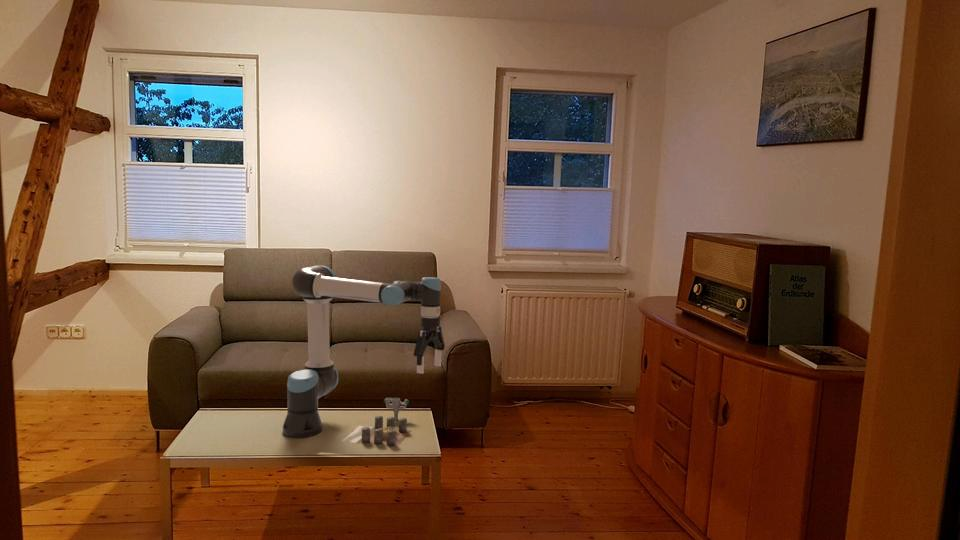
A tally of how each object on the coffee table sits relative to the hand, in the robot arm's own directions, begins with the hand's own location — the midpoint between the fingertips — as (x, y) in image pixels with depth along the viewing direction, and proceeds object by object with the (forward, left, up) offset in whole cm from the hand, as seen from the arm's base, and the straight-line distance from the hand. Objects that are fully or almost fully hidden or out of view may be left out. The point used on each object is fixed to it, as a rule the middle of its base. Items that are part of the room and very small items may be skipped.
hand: (429, 369), depth 242 cm
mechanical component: (-16, +9, -26) cm, 32 cm away
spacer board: (-17, -11, -26) cm, 33 cm away
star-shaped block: (-13, -11, -25) cm, 30 cm away
